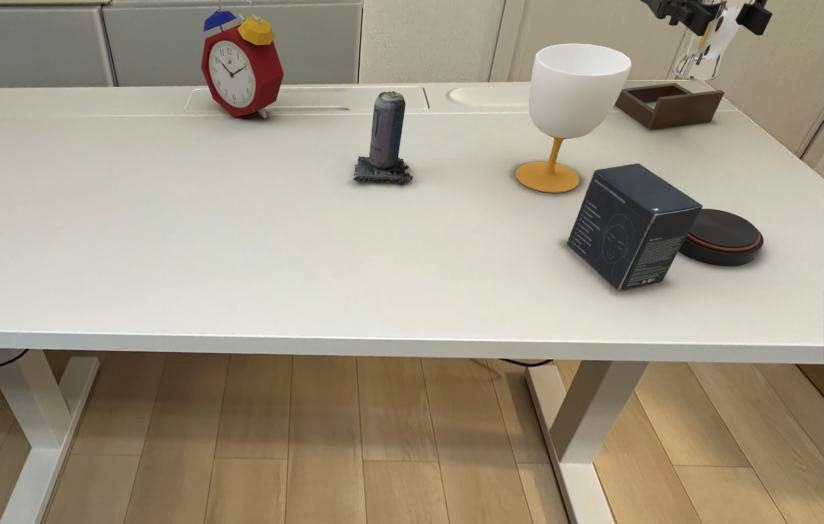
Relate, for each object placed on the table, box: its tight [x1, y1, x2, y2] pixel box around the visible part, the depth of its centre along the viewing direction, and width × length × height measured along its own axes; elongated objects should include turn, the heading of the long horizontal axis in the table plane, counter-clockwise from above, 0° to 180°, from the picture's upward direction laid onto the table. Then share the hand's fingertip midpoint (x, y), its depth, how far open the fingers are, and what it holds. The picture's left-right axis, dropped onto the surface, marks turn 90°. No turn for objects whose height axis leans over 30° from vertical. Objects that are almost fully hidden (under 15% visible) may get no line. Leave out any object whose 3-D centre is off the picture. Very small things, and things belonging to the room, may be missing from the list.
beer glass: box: [671, 0, 755, 82], centre depth 84 cm, size 7×7×15 cm
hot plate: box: [678, 208, 765, 267], centre depth 74 cm, size 10×10×2 cm
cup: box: [515, 42, 633, 194], centre depth 82 cm, size 12×12×17 cm
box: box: [566, 162, 704, 291], centre depth 70 cm, size 11×7×10 cm, turn 15°
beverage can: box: [352, 90, 414, 185], centre depth 87 cm, size 9×8×12 cm
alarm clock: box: [200, 0, 285, 119], centre depth 103 cm, size 15×9×20 cm, turn 50°
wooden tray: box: [614, 82, 725, 130], centre depth 100 cm, size 11×11×5 cm
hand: (734, 25), depth 80 cm, fingers closed on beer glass, 7 cm apart
